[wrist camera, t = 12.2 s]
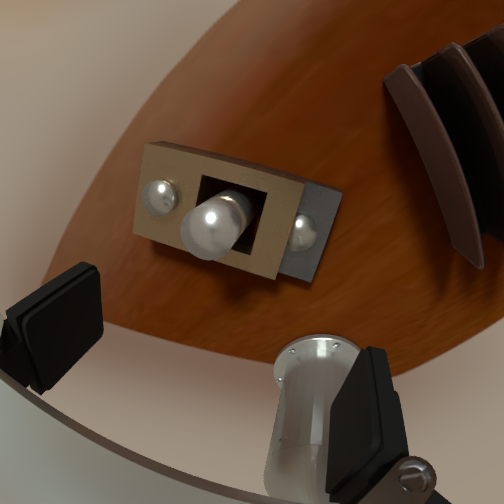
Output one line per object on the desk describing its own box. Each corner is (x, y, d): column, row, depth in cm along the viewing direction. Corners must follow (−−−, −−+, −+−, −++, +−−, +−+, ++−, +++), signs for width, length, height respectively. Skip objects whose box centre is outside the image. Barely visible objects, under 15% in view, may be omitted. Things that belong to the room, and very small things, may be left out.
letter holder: (452, 51, 22) (520, 15, 9) (513, 213, 27) (585, 257, 14) (380, 79, 26) (423, 41, 13) (451, 246, 30) (509, 310, 17)
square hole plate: (341, 189, 30) (345, 199, 26) (311, 274, 34) (310, 296, 30) (163, 141, 32) (139, 143, 28) (149, 222, 36) (127, 235, 32)
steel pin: (251, 230, 34) (226, 267, 25) (214, 219, 34) (176, 250, 25) (262, 192, 32) (239, 215, 23) (222, 181, 33) (185, 200, 24)
